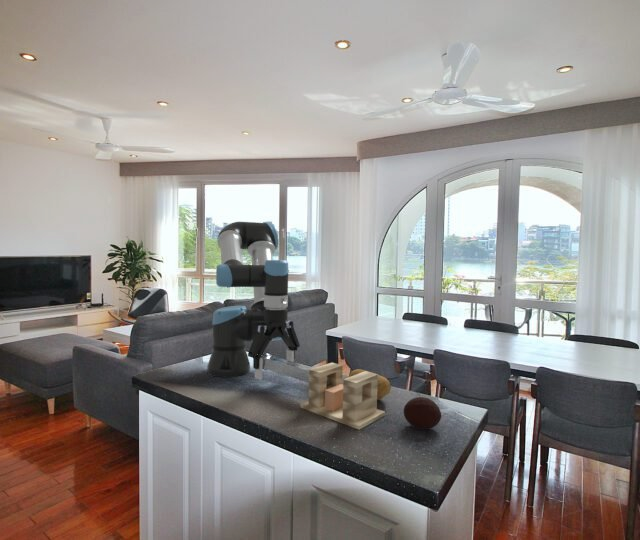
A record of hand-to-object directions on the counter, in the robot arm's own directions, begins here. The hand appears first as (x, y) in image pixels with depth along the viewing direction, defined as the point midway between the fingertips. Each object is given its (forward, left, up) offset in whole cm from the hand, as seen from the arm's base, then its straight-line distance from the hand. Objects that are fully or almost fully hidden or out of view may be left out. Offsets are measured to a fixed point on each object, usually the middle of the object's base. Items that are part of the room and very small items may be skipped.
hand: (274, 374), depth 125 cm
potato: (+27, +13, -4) cm, 31 cm away
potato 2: (+48, +6, -4) cm, 49 cm away
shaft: (+8, 0, +1) cm, 8 cm away
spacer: (+24, 0, -1) cm, 24 cm away
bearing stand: (+27, 0, -4) cm, 28 cm away
